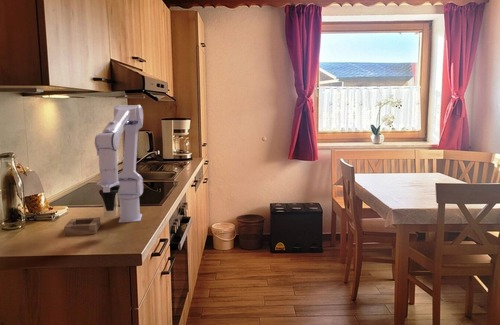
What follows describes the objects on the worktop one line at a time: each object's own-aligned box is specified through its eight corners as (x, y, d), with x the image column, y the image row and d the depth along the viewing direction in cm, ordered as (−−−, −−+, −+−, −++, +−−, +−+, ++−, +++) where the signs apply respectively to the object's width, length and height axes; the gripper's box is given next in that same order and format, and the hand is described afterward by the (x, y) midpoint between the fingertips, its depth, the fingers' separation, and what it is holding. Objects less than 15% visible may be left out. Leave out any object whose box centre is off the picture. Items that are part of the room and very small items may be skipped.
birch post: (106, 213, 140) (104, 193, 139) (118, 213, 141) (117, 193, 140) (104, 216, 136) (102, 196, 135) (116, 216, 137) (115, 195, 136)
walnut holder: (71, 226, 150) (71, 218, 149) (100, 225, 151) (100, 217, 151) (64, 235, 140) (64, 227, 139) (95, 233, 142) (95, 225, 141)
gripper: (99, 166, 143) (102, 204, 145) (91, 173, 129) (94, 215, 131) (121, 165, 144) (123, 203, 146) (115, 172, 130) (117, 214, 132)
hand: (111, 208), depth 138 cm, fingers closed on birch post, 4 cm apart
